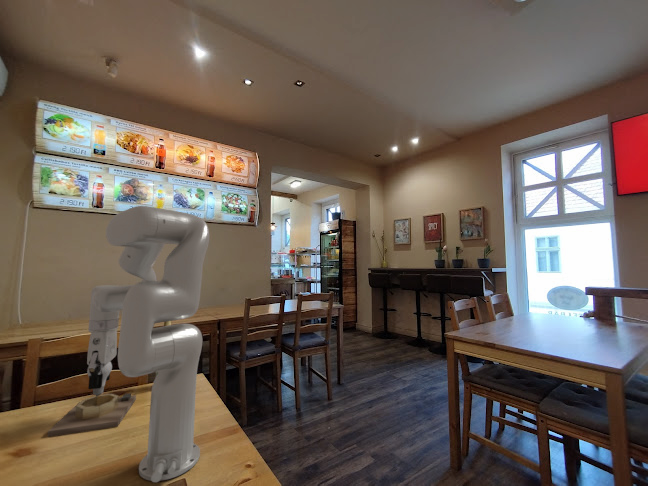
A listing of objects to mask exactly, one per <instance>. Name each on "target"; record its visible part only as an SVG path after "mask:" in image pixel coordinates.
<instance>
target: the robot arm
mask: <svg viewBox="0 0 648 486" xmlns="http://www.w3.org/2000/svg"><path fill="white" fill-rule="evenodd" d="M105 238H106V241H107V243H109V244H110V245H111V246H115V247H123V251H122V253H121V254H120V257H119V258H118V264H119V267H120V268H121V269H122V270H123V271H124V272H125V273H128V274H130V275H132V276H135V277H137V278H140V279H142V280H141V281H139V282H136V283H134V284H130V285H129V284H128V285H113V284H111V285H108V284H107V285H105V284H104V285H96V286H94V287H93V288H92V289H91V294H90V306H89V307H90V308H89V319H88V330H87V331H88V332H90V336H89V341H88V348H87V355H86V356H87V357H86V359H87V361H86V364H87V365H88V367H87V370H88V369H89V370H90V372H89V376H88V390H93V389H98V388H101V387H102V379H103V374H101V373H102V368H103V364H107V363H108V362H109V361H110V362H111V363H112V360H113V359H114V358H116V356H117V366H118V368H119V371H120V372H121V374H122V375H123V376H125V377H127V378H137V377H142V376H146V375H149V374H152V373H153V374H154V373H156V371H159V372H158V374H157V376H156V375H155V378H154V381H153V384H152V386H151V393H150V406H149V407H150V409H149V422H148V423H149V425H148V442H147V444H148V445H147V454H145V456H144V457H143V458H142V459H141V461H140V462H139V465H138V474H139V476H140V477H141V478H143V480H147V481H151V482H152V483H158V482H160V481H161V482H162V481H167V480H171V479H173V478H176V477H179V476H180V475H184V474H185V473H186V472H188V471H189V470H191V469H192V468H193V467H194V466H195V465H196V464H197V463H198V461H199V458H200V455H201V448H200V446H198V445H197V443H195V442H194V436H195V435H194V434H195V415H196V414H195V413H196V412H195V411H196V390H197V376H198V375H197V374H198V367H199V361H200V356H201V353H202V347H203V334H202V331H201V330H200V328H199V327H198V326H196V325H195V324H191V323H176V324H171V325H169V326H164V325H163V326H160V327H155V324H159V323H164V322H167V321H171V322H173V321H178V320H184V319H189V318H191V317H193V316H194V315H195V314H196V313H197V311H198V309H199V305H200V300H201V290H202V279H203V268H204V267H203V266H204V260H205V257H206V253H207V251H208V249H209V248H208V247H209V243H210V229H209V227H208V224H207V223H206V221H205V220H204V219H203V218H201V217H199V216H197V215H194V214H190V213H187V212H182V211H178V210H172V209H166V208H165V209H163V208H157V207H153V206H147V205H136V206H134V207H131V208H127V209H125V210H123V211H120V212H118V213H116V214H115V215H114V216H113V217H112V218H111V219H110V220H109V222H108V224H107V226H106V229H105ZM166 244H167V245H176V247H174V248H173V249H172V250H171V251H170V253H169V255H167V257H166V259H165V262H164V265H163V266H164V268H163V276H162V279H161V280H157V275H156V272H155V269H154V268H153V266H154V265H155V263H156V261H157V260H158V258H159V256H160V254H161V252H162V251H163V249H164V247H165V245H166ZM120 311H121V321H120V329H119V320H120ZM118 329H119V338H118ZM118 339H119V340H118ZM96 362H100V363H101V364H96ZM96 366H99V369H98V367H96ZM110 377H111V373H110V374H109V375H108V377H107V379H106V381H110V379H111V378H110Z"/></svg>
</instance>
